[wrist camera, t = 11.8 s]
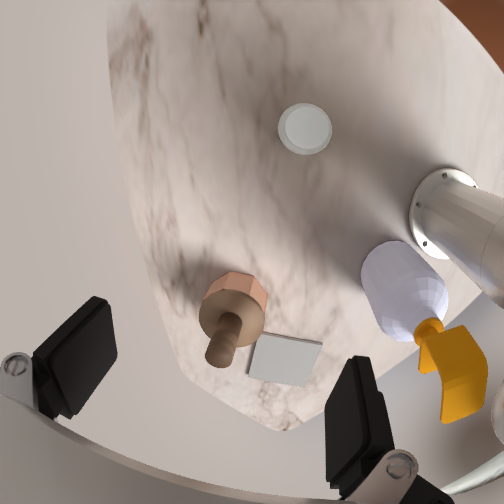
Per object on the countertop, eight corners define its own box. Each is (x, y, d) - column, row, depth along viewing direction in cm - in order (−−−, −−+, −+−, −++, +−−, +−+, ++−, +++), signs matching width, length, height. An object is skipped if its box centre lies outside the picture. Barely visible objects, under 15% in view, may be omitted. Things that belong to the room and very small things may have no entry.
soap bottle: (363, 305, 40) (408, 452, 17) (355, 247, 37) (421, 387, 14) (419, 290, 38) (495, 417, 15) (416, 233, 35) (525, 344, 12)
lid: (270, 297, 35) (264, 337, 28) (258, 348, 39) (250, 390, 31) (203, 282, 36) (182, 318, 29) (198, 334, 39) (180, 373, 32)
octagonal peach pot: (271, 279, 40) (268, 298, 36) (260, 326, 43) (256, 347, 39) (214, 267, 41) (204, 283, 36) (208, 314, 44) (199, 333, 39)
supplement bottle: (271, 134, 33) (263, 132, 24) (297, 101, 31) (299, 86, 22) (306, 161, 34) (312, 169, 25) (333, 128, 32) (348, 124, 23)
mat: (322, 343, 43) (322, 345, 42) (304, 384, 47) (304, 387, 46) (259, 331, 44) (258, 333, 43) (248, 374, 47) (247, 377, 47)
